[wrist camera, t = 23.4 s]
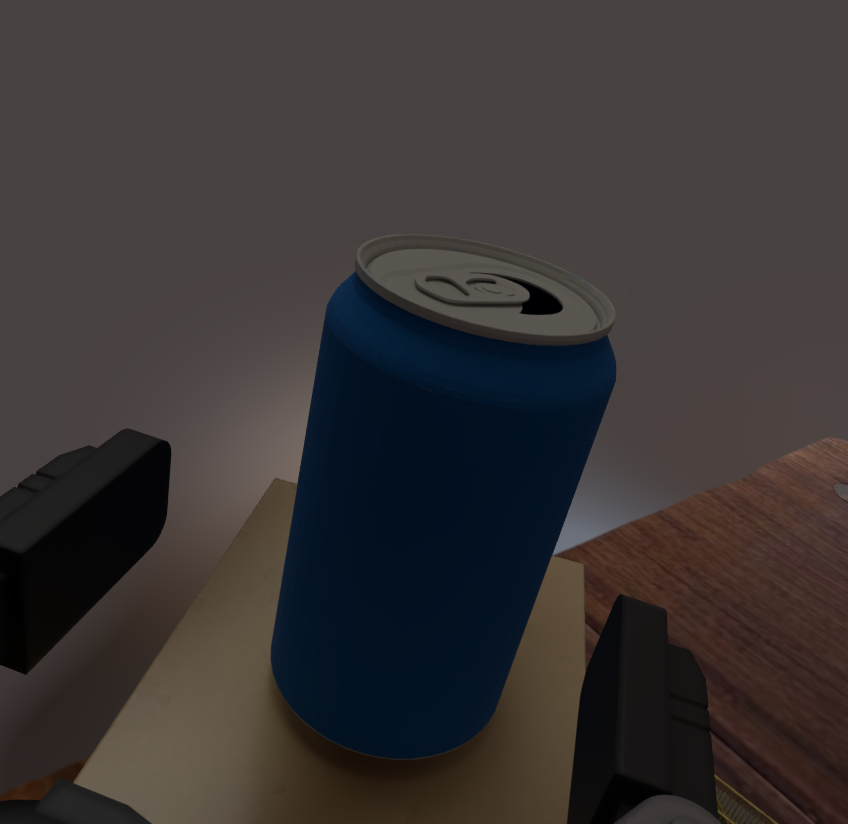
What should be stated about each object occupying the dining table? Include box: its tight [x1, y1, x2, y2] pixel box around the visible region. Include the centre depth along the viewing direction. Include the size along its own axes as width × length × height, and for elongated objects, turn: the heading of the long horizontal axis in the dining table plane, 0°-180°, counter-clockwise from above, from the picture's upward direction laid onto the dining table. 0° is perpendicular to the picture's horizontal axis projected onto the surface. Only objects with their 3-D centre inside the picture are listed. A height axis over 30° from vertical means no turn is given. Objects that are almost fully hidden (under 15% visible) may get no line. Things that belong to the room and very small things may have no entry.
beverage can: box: [271, 234, 616, 760], centre depth 19 cm, size 6×6×12 cm
